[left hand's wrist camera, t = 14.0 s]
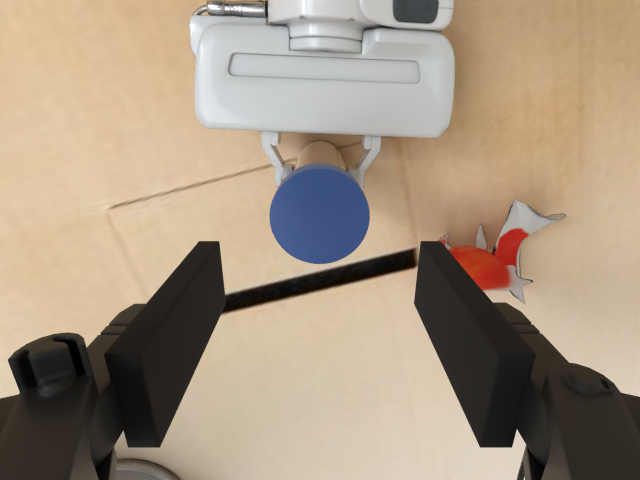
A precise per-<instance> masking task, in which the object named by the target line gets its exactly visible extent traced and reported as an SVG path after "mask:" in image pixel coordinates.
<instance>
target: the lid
mask: <svg viewBox="0 0 640 480" xmlns="http://www.w3.org/2000/svg"><path fill="white" fill-rule="evenodd" d="M369 218H370V217H369V207H368V203H367V200H366V197H365V195H364V193H363V191H362V189H361V187H360V185H359V184H358V182H357V181H356V179H355V178H354V177H353V176H352V175H351V174H349V173H348V172H347V171H345V170H344V169H342V168H340V167H338V166H335V165H332V164H327V163H312V164H307V165H304V166H301V167H299V168H297V169H295V170H294V171H292V172H291V173H290V174H289V175H288V176H286V177H285V179H284V180H283V181H282V182H281V184H280V186H279V187H278V189H277V191H276V194H275V196H274V198H273V200H272V204H271V207H270V225H271V229H272V232H273V234H274V237H275V238H276V240H277V242H278V243H279V244H280V246H281V247H282V248H283V249H284V250H285V251H286V252H287V253H289V254H290V255H291V256H293V257H295V258H297V259H299V260H301V261H304V262H308V263H314V264H325V263H331V262H335V261H338V260H340V259H342V258H345V257H346V256H348V255H349V254H351V253H352V252H353V251H354V250H355V249H356V248H357V247H358V246H359V245H360V243H361V242H362V241H363V239H364V237H365V235H366V232H367V230H368V226H369Z"/></svg>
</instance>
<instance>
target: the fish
mask: <svg viewBox="0 0 640 480" xmlns="http://www.w3.org/2000/svg"><path fill="white" fill-rule="evenodd" d="M564 217H566V215H565V214H564V213H561V214H553V215H550V216H547V217H545V216H543V215H541V214H539V213H537V212H536V211H535V210H533V209H532V208H531V207H529V206H528V205H526V204H524V203H522V202H520V201H518V200H516V199H515V201H514V203H513V204H512V206H511V207H510V210H509V213H508V217H507V220H506V222H505V225H504V227H503V229H502V231H501V233H500V235H499V237H498V240H497V242H496V244H495V247H494V249H493V251H492V253H489V252H488V251H486V250H487V242H486V239H485V236H484V232H483V227H482V225H481V224H480V226H479V230H478V233H477V239H476V246H475V247H474V246H456V247H451V246H450V245H449V243H448V242H447V239H448V237H449V233H447V234H446V235H445V236H444V237H442V238H441V239H440V240H439V241H441V242H442V243H443V245H444V246H445V247H446V248H447V249H448V250H449V252H450V253H451V254H452V255H453V256H454V258H455V259H456V260H457V261H458V262H459V263H460V265H461V266H462V267H463V268H464V269H465V271H466V272H467V273H468V274H469V275H470V276H471V278H472V279H473V280H474V281H475V282H476V284H477V285H478V286H479V287H480V288H481V289H482V291H510V292H511V293H512V295H514V296H515V297H516V298H517V299H519V300H520V301H521V302H523V303H524V304H525V300H524V295H523V290H522V286H524V285H527V284H529V283H531V282H533V281H532V280H528V279H523V278H521V271H520V248H521V244H522V242H523V240H524V239H525V238H526V237H528V236H529V235H531V234H533V233H534V232H536V231H538V230H540V229H542V228H544V227H546V226H548V225H550V224H553V223H554V222H556V221H558V220H560V219H563V218H564Z"/></svg>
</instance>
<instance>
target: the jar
mask: <svg viewBox="0 0 640 480" xmlns="http://www.w3.org/2000/svg"><path fill="white" fill-rule="evenodd" d="M312 163H327V164H332V165H335V166H338V167H340V168H342V169H344V170H345V171H347V170H346V167H345V164H344V162H343V159H342V156H341V154H340V152H339V150H338V149H337V148H336V147H335V146H334V145H332V144H331V143H328V142H325V141H315V142H312V143H309V144H308V145H306V146H305V147H304V148H303V149H302V150H301V152H300V153H299V156H298V158H297V161H296V164H295V166H294V169H293V171H294V170H295V169H297V168H299V167H301V166H304V165H307V164H312Z"/></svg>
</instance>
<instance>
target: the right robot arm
mask: <svg viewBox="0 0 640 480" xmlns="http://www.w3.org/2000/svg"><path fill="white" fill-rule="evenodd" d="M453 9H454V0H267V1H252V0H243V1H226V0H208V1H207V5H203V6H201V7H199V8H198V9H197V10H196V11H195V12H194V13H193V14H192V16H191V18H190V22H189V31H190V44H191V50H192V53H193V55H194V57H195V58H196V65H195V80H194V107H195V115H196V117H197V119H198V120H199V121H200V122H201V123H202V125H203V126H204V127H205V128H207V129H224V130H248V131H261V141H262V147H263V149H264V151H265V152H266V154H267V156H268V157H269V159H270V161H271V163H272V164H273V166H275V185H276V186H277V187H279V186H280V184H281V182H282V181H283V180H284V179H285V177H286V176H288V175H289V174H290V173H291V172H292V171H293V169H294V164H284V161H283V159H282V157H281V155H280V153H279V151H278V150H277V148H276V146H277V145H278V144H279V143H280V142H281V132H296V133H320V134H344V135H362V141H361V145H362V147H363V148H364V149H365V150H366V151H365V152H364V154H363V155H362V157H361V158H360V160H359V161H358V163H357V165H356V166H347V168H346V170H347V172H348V173H349V174H351V175H352V176H353V177H354V178H355V179H356V181H357V182H358V184H359V185H360V187H361V189H362V190H363V188H364V178H365V170H367V169H368V167H369V166H370V165H371V163H372V162H373V160H374V159H375V157H376V156H377V155H378V153H379V152H380V148H381V138H382V136H393V137H417V138H438V137H439V136H441V135H442V133H443V132H444V131H445V130H446V129H447V128H448V127H449V124H450V121H451V115H452V108H453V99H454V86H455V56H454V51H453V48H452V45H451V43H450V42H449V40H448V39H447V38H446V37H445V36H444V35H442V34H440V32H441V31H443V30H444V29H445V28H446V27H447V26H448V25H449V24H450V22H451V19H452V15H453ZM206 11H207V12H208V14H209V15H211V16H208V15H201V14H202V13H203V12H206ZM230 16H237V17H230ZM267 17H268V20H267Z"/></svg>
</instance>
